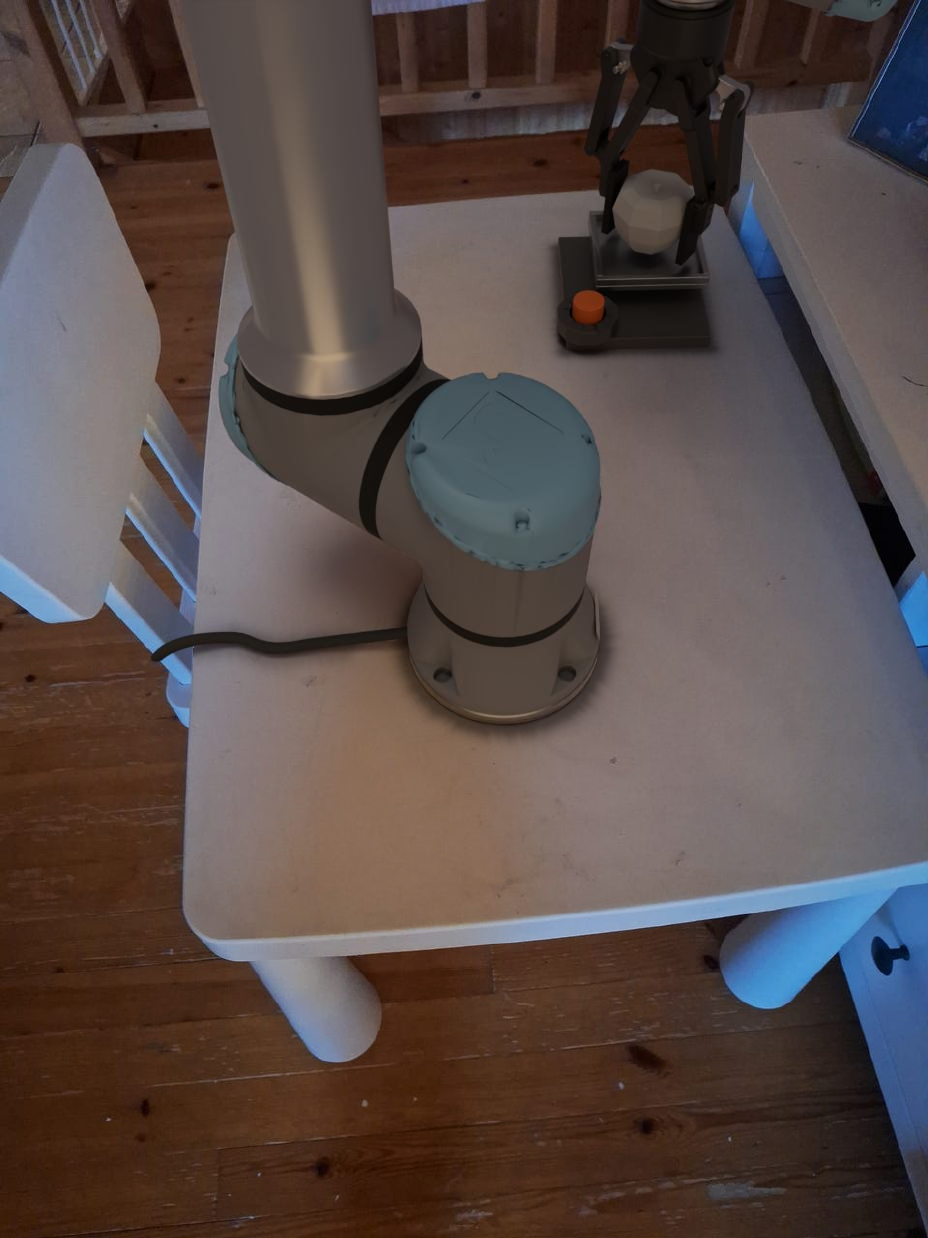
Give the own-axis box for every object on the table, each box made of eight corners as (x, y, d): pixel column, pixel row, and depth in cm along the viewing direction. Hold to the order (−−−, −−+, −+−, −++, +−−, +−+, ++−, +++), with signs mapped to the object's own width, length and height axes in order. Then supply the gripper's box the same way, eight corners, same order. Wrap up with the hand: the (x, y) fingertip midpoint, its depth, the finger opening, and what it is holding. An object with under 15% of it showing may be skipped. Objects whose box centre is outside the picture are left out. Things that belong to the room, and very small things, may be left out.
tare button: (573, 325, 87) (574, 311, 86) (571, 305, 89) (572, 290, 87) (604, 325, 87) (606, 310, 86) (601, 304, 89) (603, 289, 87)
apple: (680, 217, 93) (692, 155, 88) (694, 266, 89) (707, 204, 83) (603, 221, 93) (609, 160, 88) (613, 270, 89) (620, 209, 83)
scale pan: (595, 291, 89) (597, 279, 88) (587, 222, 95) (589, 210, 94) (707, 288, 89) (710, 276, 88) (692, 219, 95) (695, 207, 94)
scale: (557, 357, 89) (559, 333, 86) (548, 248, 98) (550, 223, 95) (709, 354, 89) (716, 329, 86) (687, 244, 97) (692, 219, 95)
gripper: (554, -28, 73) (541, 224, 93) (787, 46, 66) (721, 301, 86) (604, -63, 76) (581, 188, 96) (832, 4, 70) (758, 260, 89)
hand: (647, 241), depth 91 cm, fingers closed on apple, 8 cm apart
